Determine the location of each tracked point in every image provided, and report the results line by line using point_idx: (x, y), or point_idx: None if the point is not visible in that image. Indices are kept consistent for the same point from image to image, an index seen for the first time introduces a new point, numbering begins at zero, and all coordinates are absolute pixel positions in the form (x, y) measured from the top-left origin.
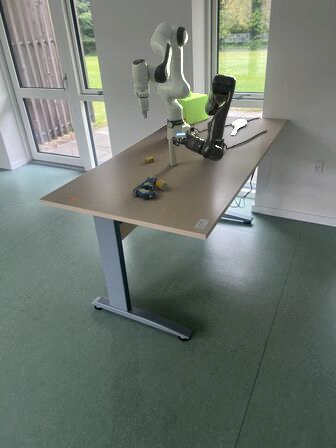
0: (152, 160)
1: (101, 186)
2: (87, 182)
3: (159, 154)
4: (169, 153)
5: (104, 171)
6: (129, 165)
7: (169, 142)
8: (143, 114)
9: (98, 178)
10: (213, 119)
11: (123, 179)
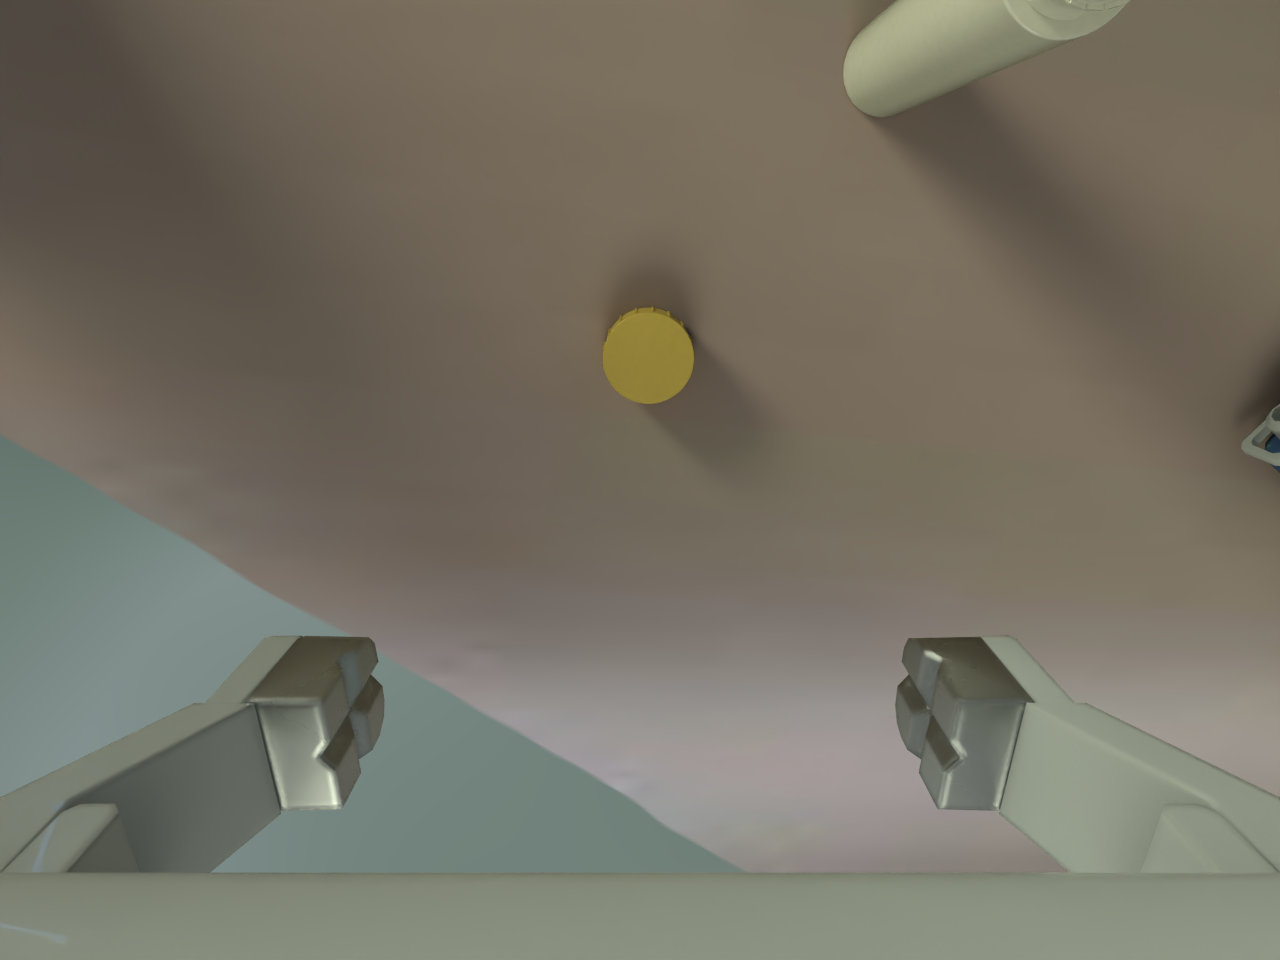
0: (683, 324)
1: None
2: (922, 871)
3: (445, 197)
4: (959, 87)
5: (748, 769)
6: (689, 568)
7: (1099, 25)
8: (379, 697)
9: (883, 807)
10: None
11: (1015, 636)
